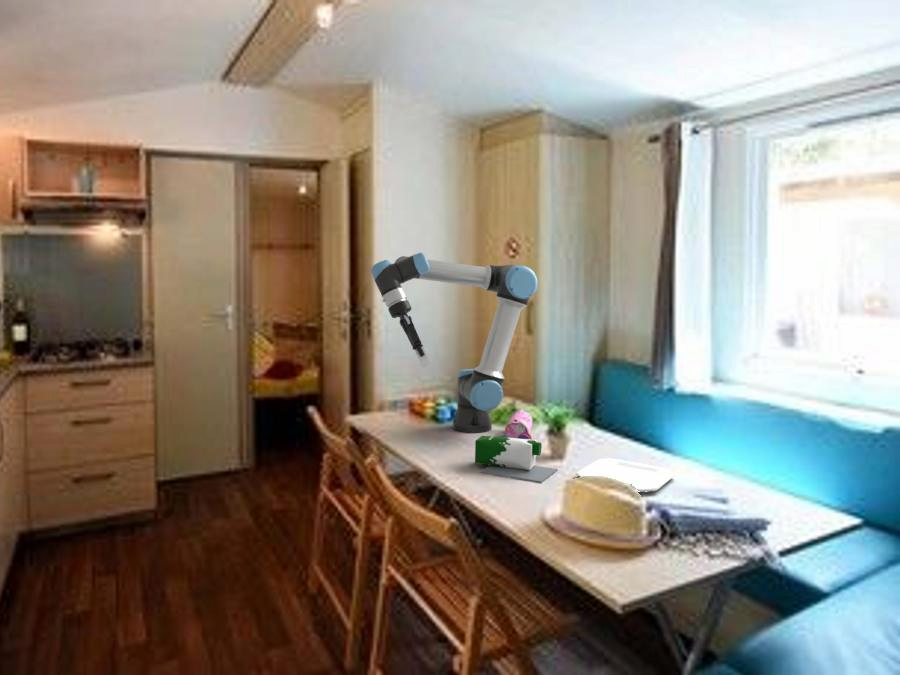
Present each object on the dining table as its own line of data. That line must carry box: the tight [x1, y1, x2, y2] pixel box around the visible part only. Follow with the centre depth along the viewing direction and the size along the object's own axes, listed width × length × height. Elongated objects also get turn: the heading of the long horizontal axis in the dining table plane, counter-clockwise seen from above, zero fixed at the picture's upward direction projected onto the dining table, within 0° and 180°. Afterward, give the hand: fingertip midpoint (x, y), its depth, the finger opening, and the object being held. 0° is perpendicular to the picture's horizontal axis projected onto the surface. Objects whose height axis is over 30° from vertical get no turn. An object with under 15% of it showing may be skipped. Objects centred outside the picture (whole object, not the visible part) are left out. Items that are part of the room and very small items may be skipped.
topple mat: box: [479, 464, 559, 484], centre depth 218 cm, size 20×14×1 cm
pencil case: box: [504, 408, 534, 438], centre depth 258 cm, size 21×9×9 cm, turn 168°
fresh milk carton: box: [474, 435, 543, 470], centre depth 221 cm, size 9×9×20 cm
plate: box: [575, 458, 676, 493], centre depth 212 cm, size 25×25×2 cm
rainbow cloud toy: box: [518, 432, 533, 440], centre depth 238 cm, size 8×10×7 cm
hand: (426, 365), depth 240 cm, fingers closed
